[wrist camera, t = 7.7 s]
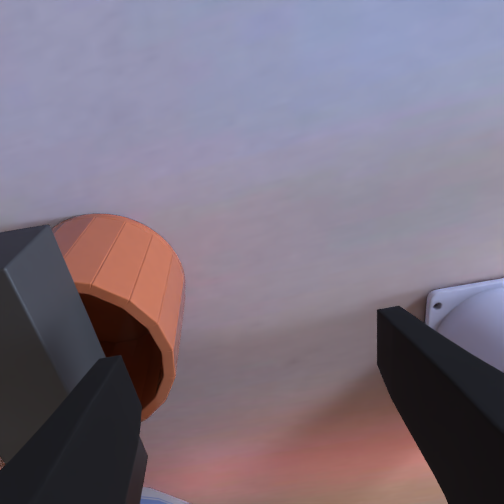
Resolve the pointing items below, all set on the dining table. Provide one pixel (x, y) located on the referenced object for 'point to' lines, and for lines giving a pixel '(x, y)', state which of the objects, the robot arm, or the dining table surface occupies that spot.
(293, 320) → the dining table surface
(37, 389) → the black bar
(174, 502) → the ramen bowl
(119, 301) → the cup
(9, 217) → the dining table surface
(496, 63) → the dining table surface
